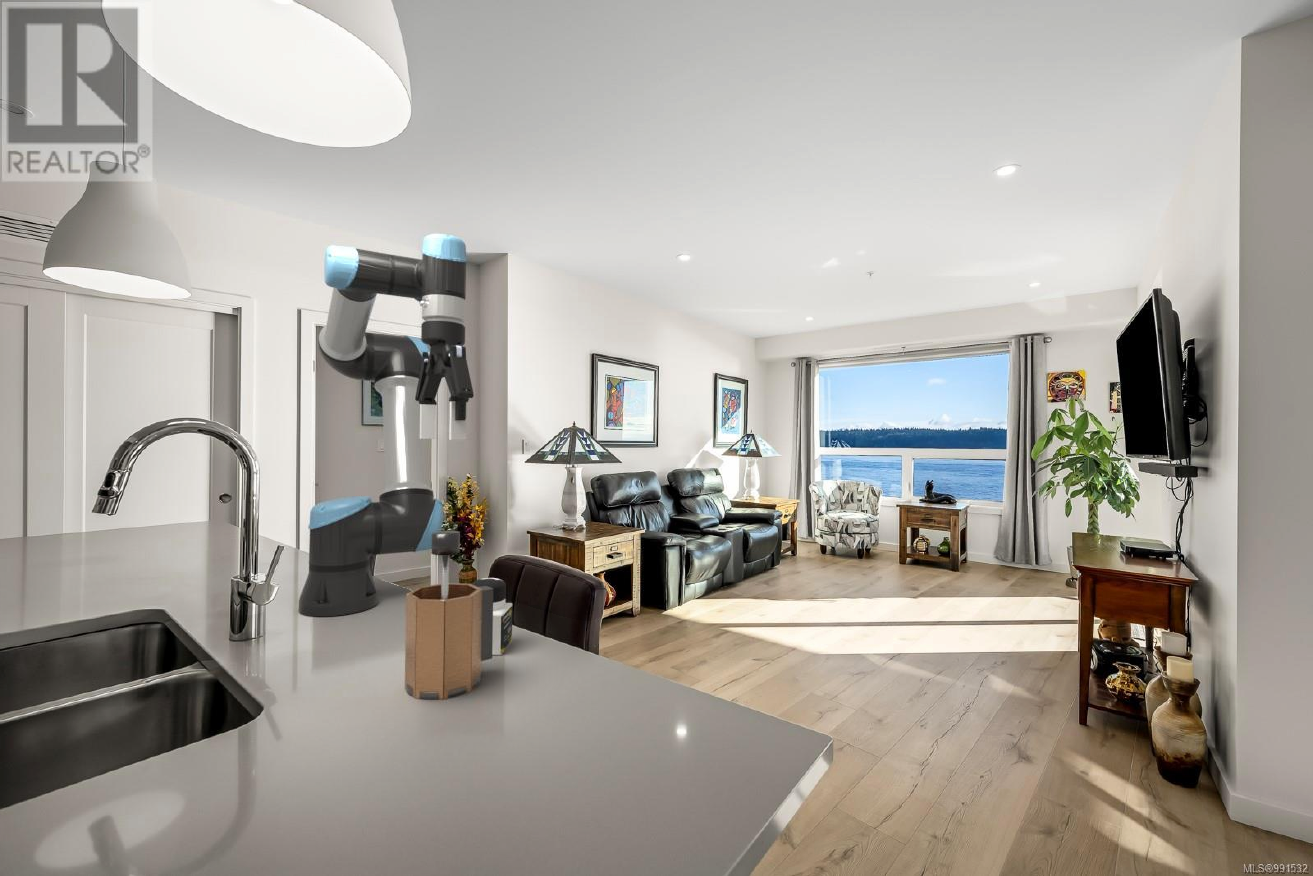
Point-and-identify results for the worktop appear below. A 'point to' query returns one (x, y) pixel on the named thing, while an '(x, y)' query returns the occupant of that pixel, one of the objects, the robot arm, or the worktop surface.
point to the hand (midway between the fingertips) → (441, 439)
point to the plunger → (445, 554)
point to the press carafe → (447, 639)
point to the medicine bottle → (499, 614)
